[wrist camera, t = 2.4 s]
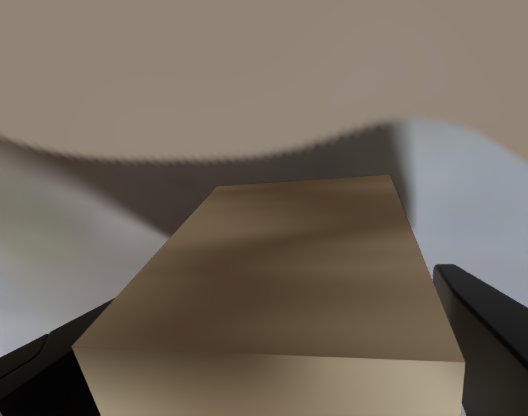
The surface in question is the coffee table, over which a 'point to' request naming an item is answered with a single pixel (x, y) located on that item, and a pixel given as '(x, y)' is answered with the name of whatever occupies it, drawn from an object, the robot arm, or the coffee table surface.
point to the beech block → (280, 312)
